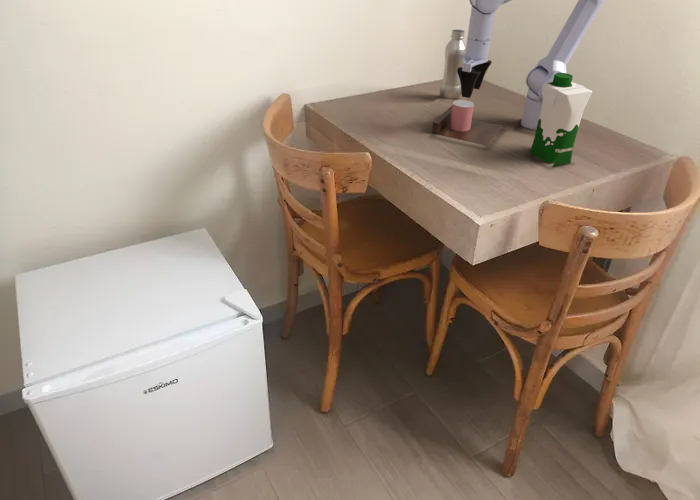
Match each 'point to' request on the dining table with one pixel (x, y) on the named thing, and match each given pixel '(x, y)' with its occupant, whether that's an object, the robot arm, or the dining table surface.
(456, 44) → the plastic bottle
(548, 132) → the milk carton
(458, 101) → the yogurt pot
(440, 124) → the serving board
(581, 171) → the dining table surface
